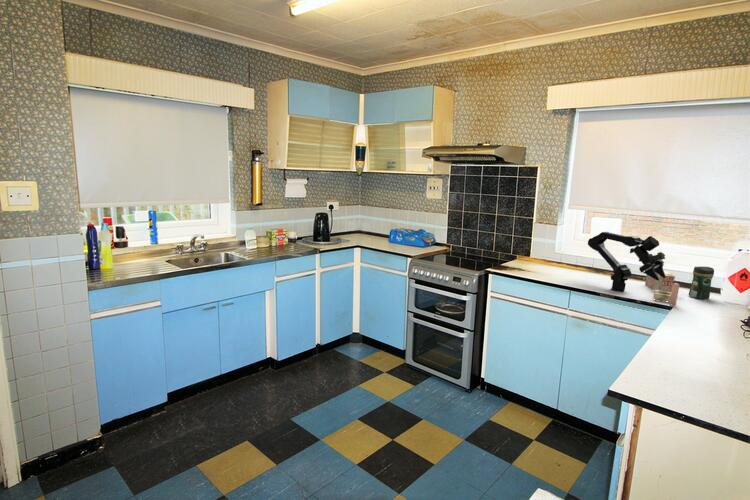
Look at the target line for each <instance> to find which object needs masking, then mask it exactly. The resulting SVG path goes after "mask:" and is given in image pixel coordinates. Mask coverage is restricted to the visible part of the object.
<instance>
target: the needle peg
mask: <svg viewBox="0 0 750 500" xmlns="http://www.w3.org/2000/svg"><path fill="white" fill-rule="evenodd" d="M679 291H680V284H679V283H677V282H674V284H673V286H672V292H671V297H670V302H669V303H670V304H673V305H677V300H678V295H679ZM669 303H668V304H669Z"/></svg>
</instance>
